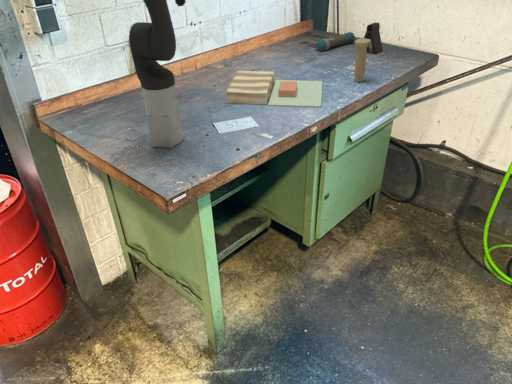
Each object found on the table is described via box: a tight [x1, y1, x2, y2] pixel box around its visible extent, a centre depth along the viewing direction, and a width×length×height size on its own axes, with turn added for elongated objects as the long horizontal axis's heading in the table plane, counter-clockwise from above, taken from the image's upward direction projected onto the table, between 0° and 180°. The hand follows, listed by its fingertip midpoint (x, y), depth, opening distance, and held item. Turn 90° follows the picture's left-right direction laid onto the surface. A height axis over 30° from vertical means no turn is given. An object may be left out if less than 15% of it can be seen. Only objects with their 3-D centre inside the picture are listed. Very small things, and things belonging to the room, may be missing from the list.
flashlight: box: [315, 31, 356, 52], centre depth 200 cm, size 5×22×5 cm, turn 128°
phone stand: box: [363, 21, 383, 55], centre depth 190 cm, size 9×6×12 cm, turn 47°
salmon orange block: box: [278, 81, 297, 97], centre depth 154 cm, size 9×6×2 cm, turn 172°
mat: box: [267, 79, 324, 108], centre depth 155 cm, size 24×18×1 cm
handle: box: [353, 37, 371, 83], centre depth 159 cm, size 5×6×15 cm
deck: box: [225, 70, 275, 105], centre depth 156 cm, size 22×14×4 cm, turn 171°
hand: (181, 5), depth 132 cm, fingers closed
